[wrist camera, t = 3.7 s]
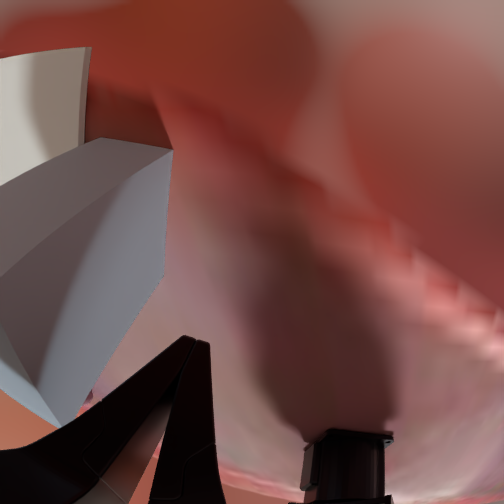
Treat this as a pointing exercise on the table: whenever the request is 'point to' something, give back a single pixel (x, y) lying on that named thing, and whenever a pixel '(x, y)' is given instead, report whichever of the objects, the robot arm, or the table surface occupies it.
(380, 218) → the table surface
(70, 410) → the slab
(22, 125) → the mat
